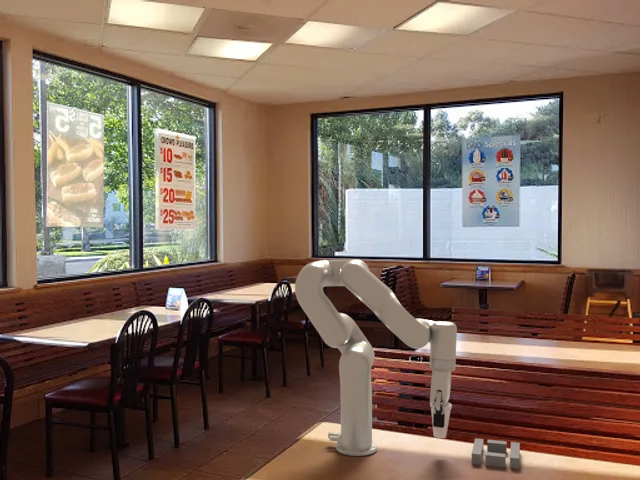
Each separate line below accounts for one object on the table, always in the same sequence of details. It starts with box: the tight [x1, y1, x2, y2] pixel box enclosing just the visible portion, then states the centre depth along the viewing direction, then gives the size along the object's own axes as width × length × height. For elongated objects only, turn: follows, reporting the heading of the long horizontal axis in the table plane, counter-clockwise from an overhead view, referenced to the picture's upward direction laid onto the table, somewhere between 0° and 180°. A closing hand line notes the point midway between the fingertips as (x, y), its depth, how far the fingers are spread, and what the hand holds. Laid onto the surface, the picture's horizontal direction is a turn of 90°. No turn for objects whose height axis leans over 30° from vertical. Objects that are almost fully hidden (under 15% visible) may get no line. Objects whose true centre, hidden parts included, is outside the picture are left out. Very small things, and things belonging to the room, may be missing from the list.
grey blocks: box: [471, 437, 521, 470], centre depth 182 cm, size 13×13×3 cm
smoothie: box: [429, 401, 453, 439], centre depth 184 cm, size 6×6×14 cm
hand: (440, 422), depth 184 cm, fingers closed on smoothie, 6 cm apart
